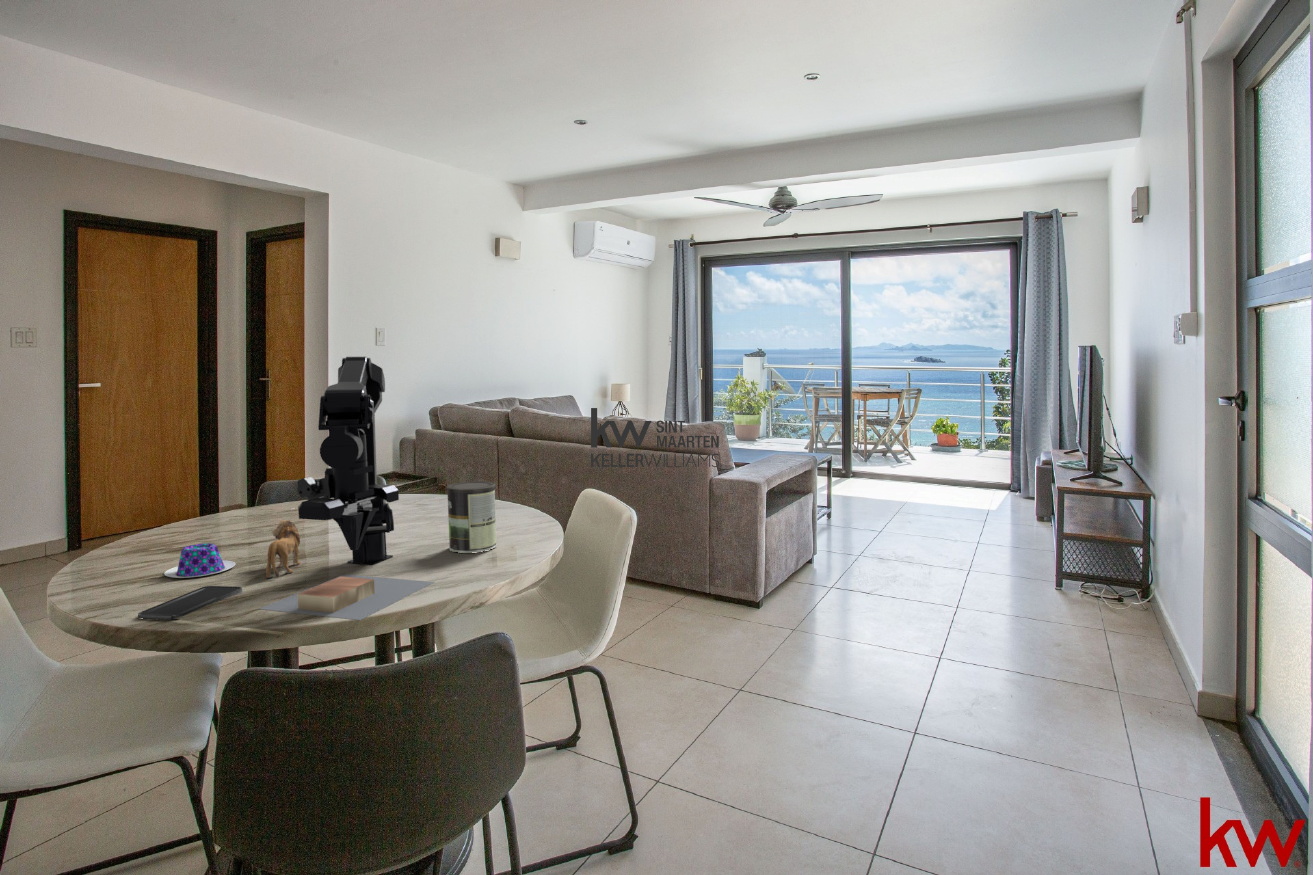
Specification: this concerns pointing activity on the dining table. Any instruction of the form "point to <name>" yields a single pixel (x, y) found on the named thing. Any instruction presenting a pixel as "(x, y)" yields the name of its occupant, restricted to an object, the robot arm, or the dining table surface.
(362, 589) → the maple tile
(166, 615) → the phone
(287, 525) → the lion figurine
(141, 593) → the dining table surface
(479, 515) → the coffee can
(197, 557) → the purple patterned hat
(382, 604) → the rubber mat
